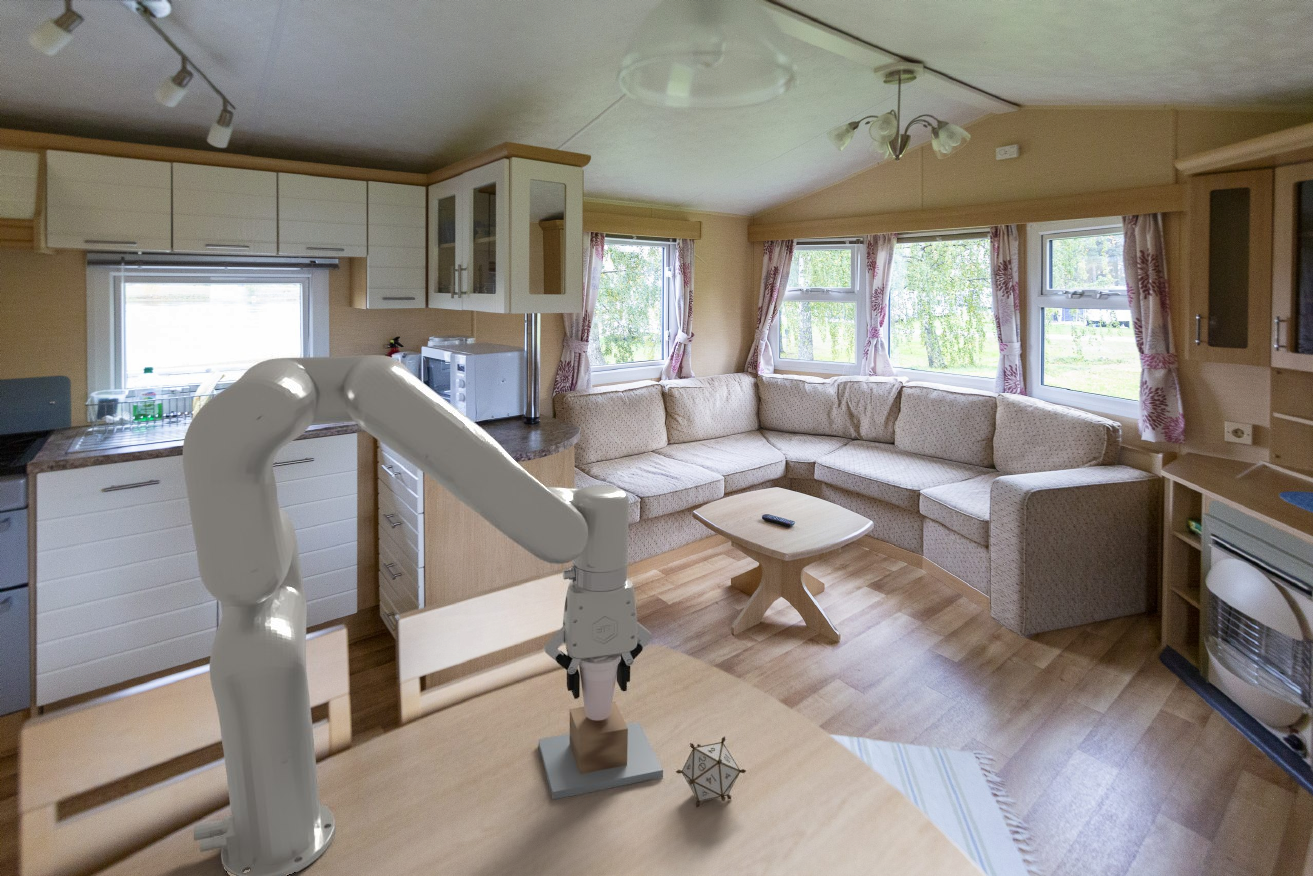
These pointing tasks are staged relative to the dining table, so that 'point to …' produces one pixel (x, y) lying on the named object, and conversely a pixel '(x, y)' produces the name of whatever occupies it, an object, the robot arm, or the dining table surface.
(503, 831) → the dining table surface
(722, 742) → the game die
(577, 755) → the walnut block
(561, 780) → the plate
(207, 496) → the robot arm
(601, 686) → the smoothie
